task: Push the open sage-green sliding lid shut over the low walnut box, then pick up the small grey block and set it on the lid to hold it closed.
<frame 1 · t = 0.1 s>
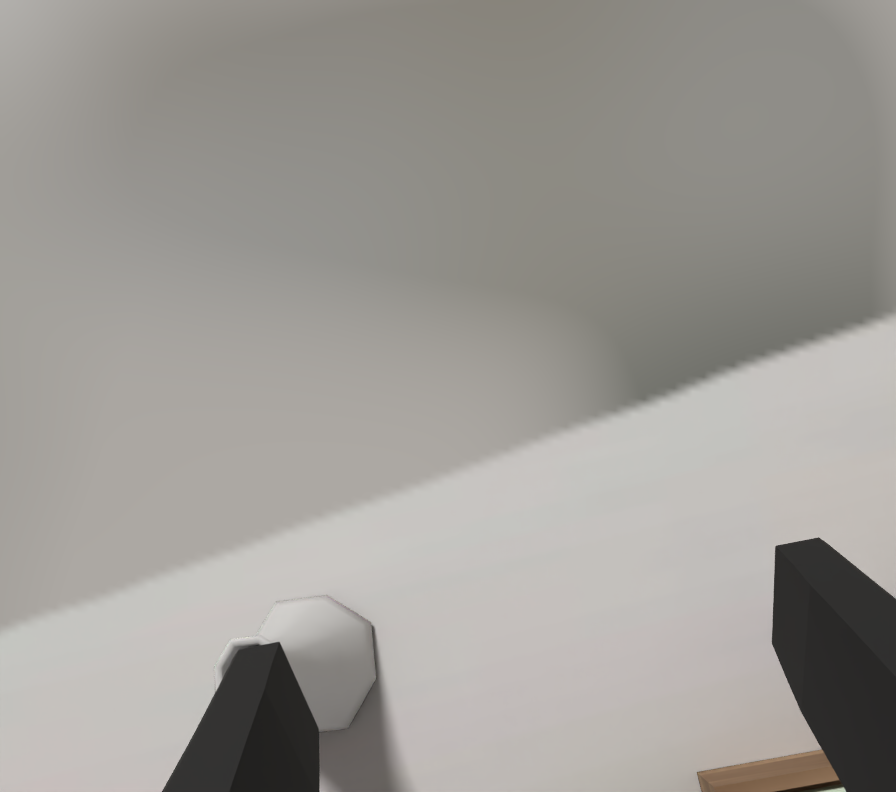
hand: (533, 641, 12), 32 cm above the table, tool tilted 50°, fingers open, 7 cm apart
flask: (313, 663, 43), on the table
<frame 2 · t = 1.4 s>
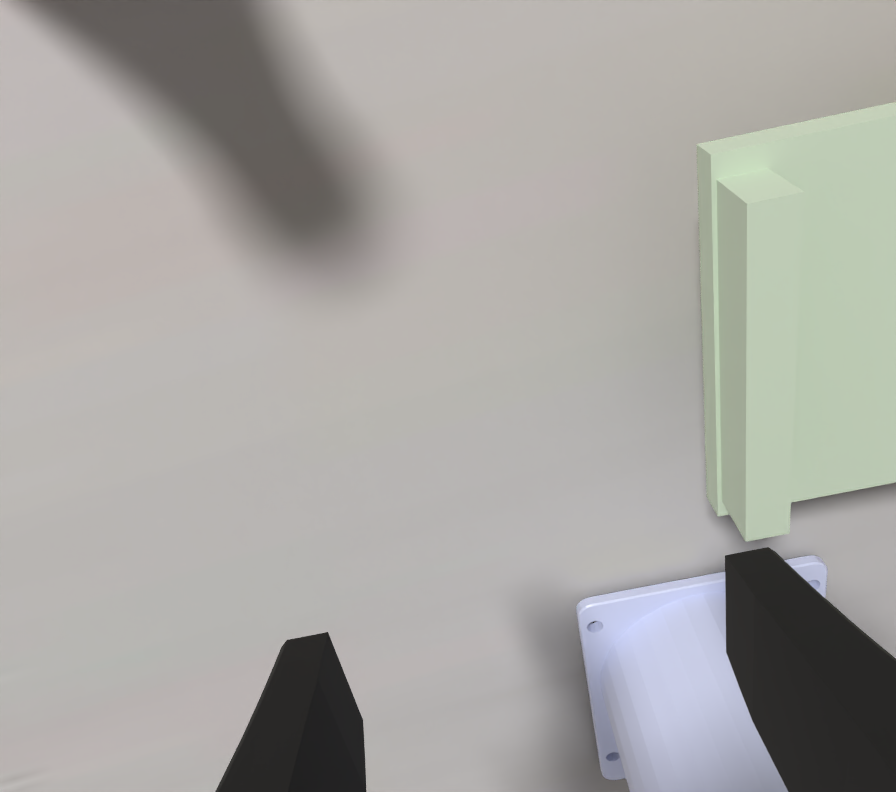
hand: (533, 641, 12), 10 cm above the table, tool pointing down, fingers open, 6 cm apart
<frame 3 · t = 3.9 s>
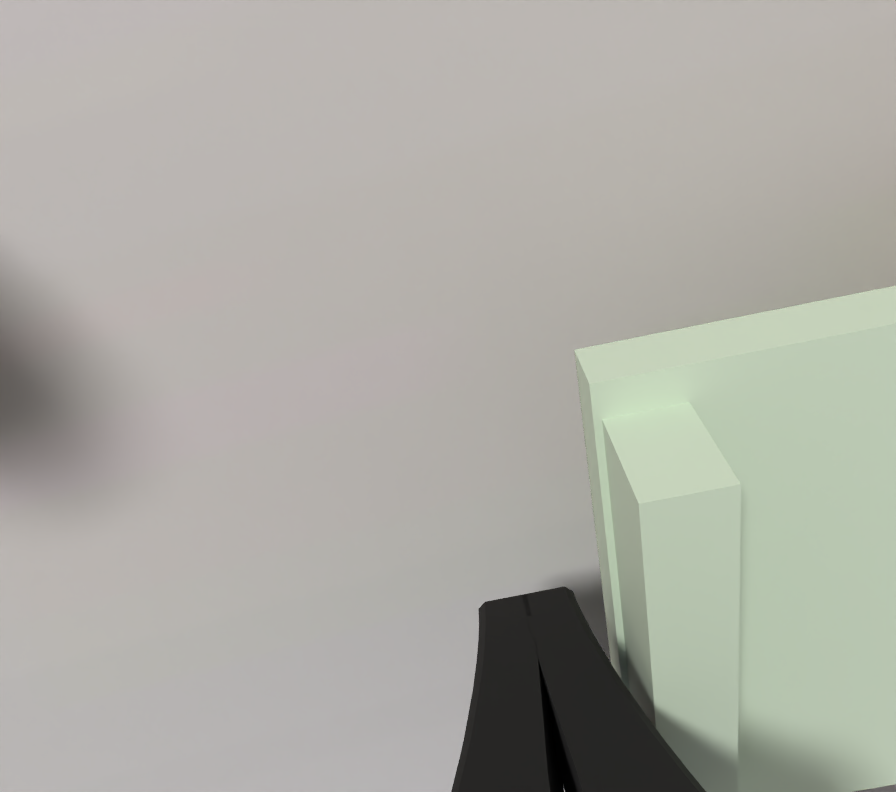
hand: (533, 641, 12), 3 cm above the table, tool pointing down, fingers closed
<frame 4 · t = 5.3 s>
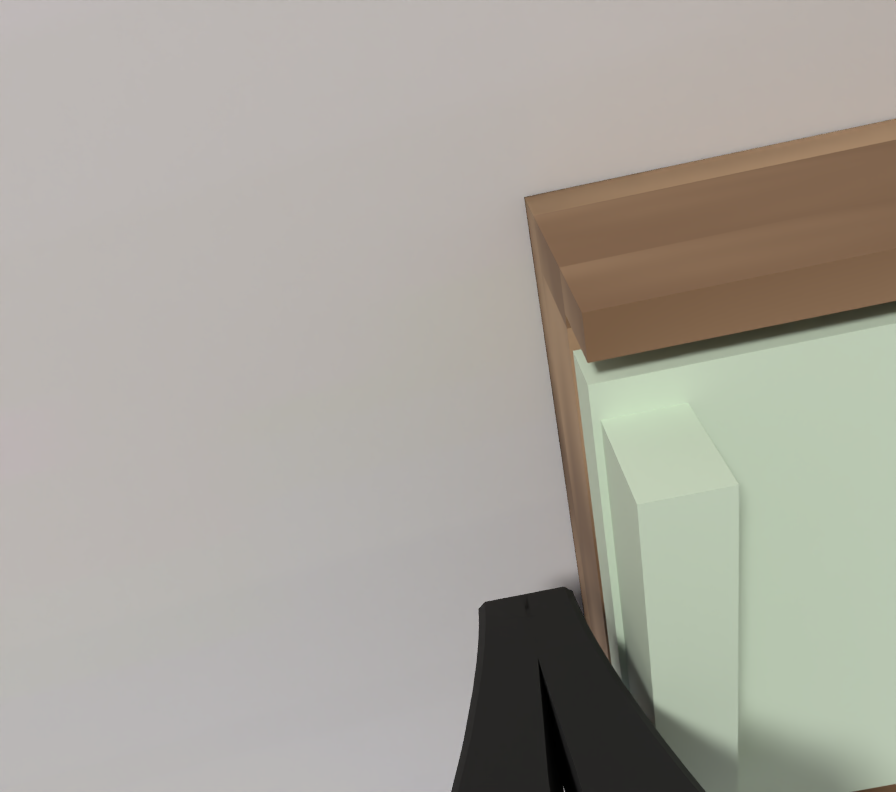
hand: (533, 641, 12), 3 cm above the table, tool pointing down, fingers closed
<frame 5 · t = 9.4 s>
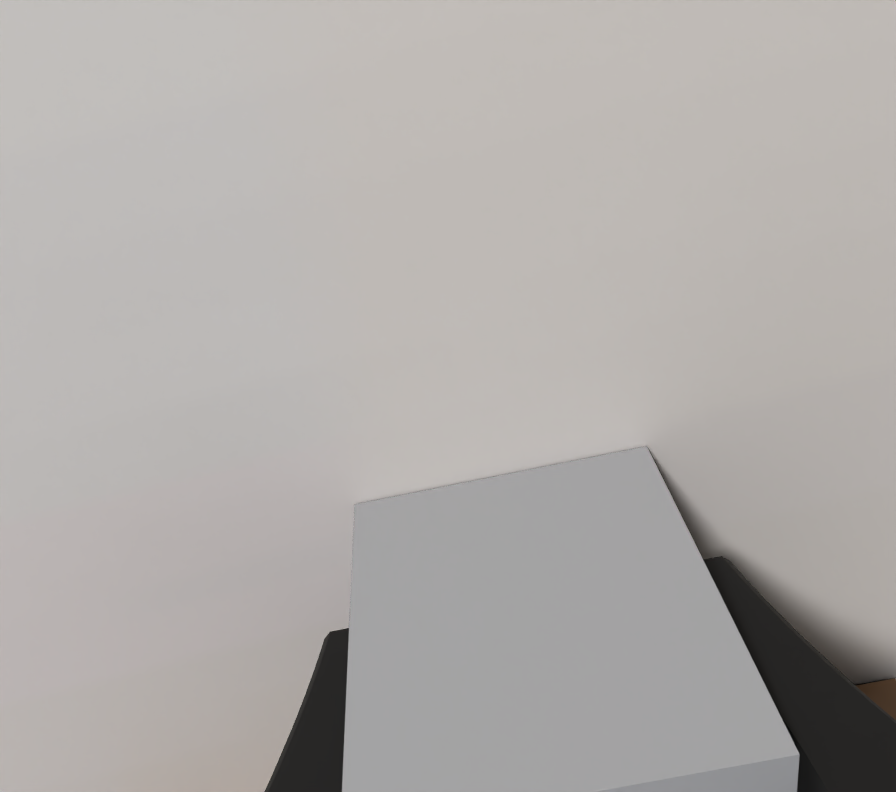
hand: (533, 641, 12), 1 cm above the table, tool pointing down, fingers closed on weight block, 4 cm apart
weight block: (518, 572, 13), on the table, touching gripper
when the fingers open (6 cm above the table, at t = 13.2 s): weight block stays where it is, resting on sage lid.
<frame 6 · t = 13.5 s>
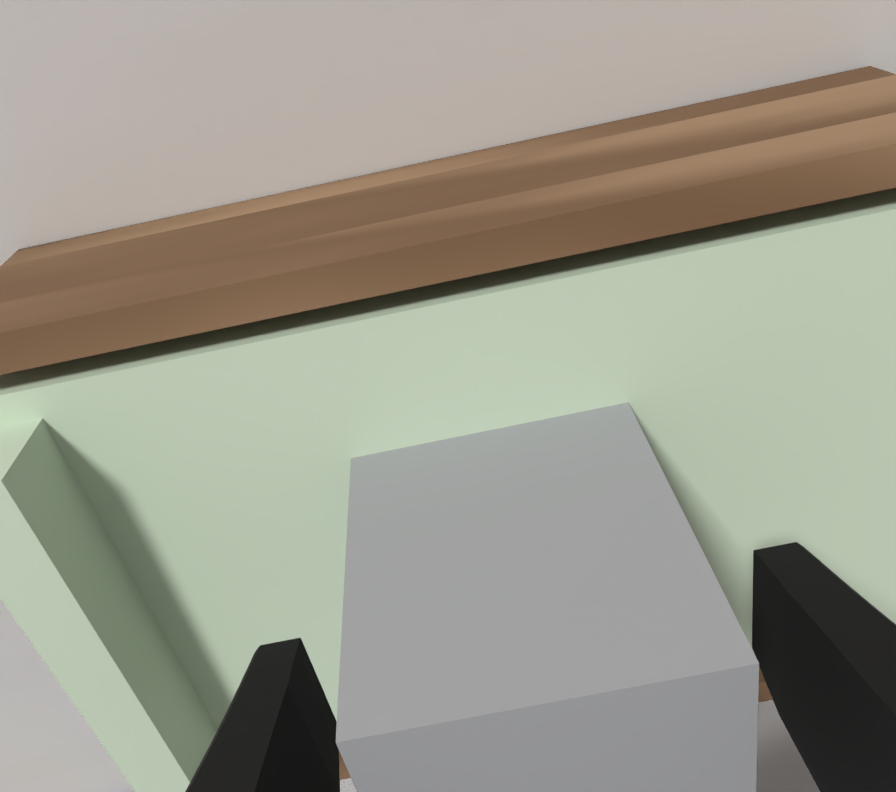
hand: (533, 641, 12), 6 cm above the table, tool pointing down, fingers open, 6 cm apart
sage lid: (513, 549, 13), point 4 cm above the table, slide at 0.0 cm, touching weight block
walnut box: (487, 419, 17), on the table
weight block: (507, 526, 13), point 4 cm above the table, touching sage lid
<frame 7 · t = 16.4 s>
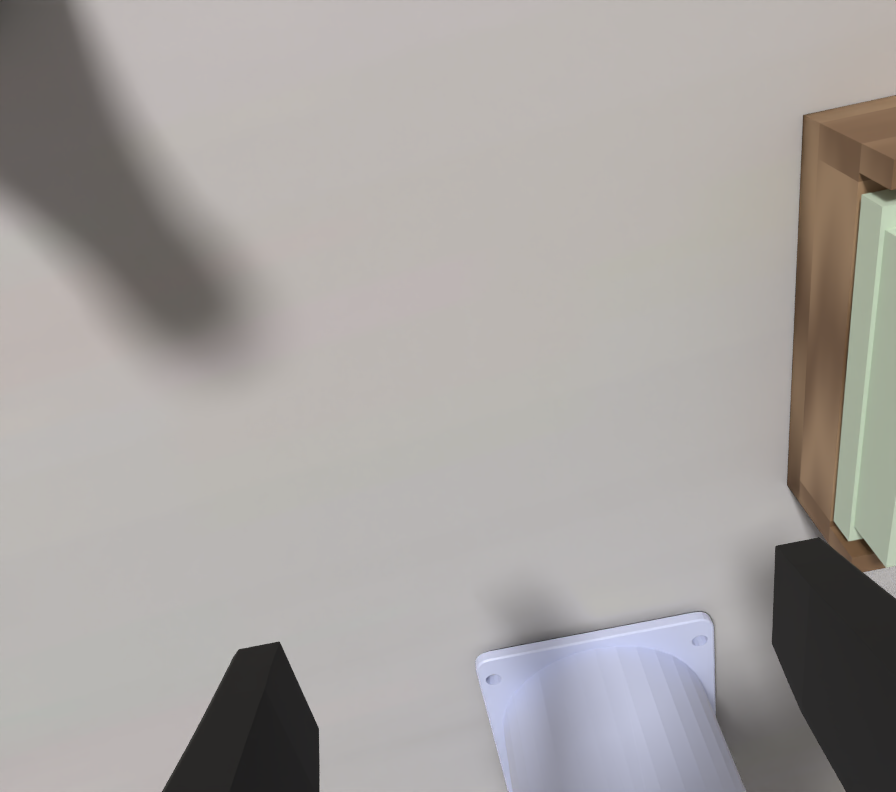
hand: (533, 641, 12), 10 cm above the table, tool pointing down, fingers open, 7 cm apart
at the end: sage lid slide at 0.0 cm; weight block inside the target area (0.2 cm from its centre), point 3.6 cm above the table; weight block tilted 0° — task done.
